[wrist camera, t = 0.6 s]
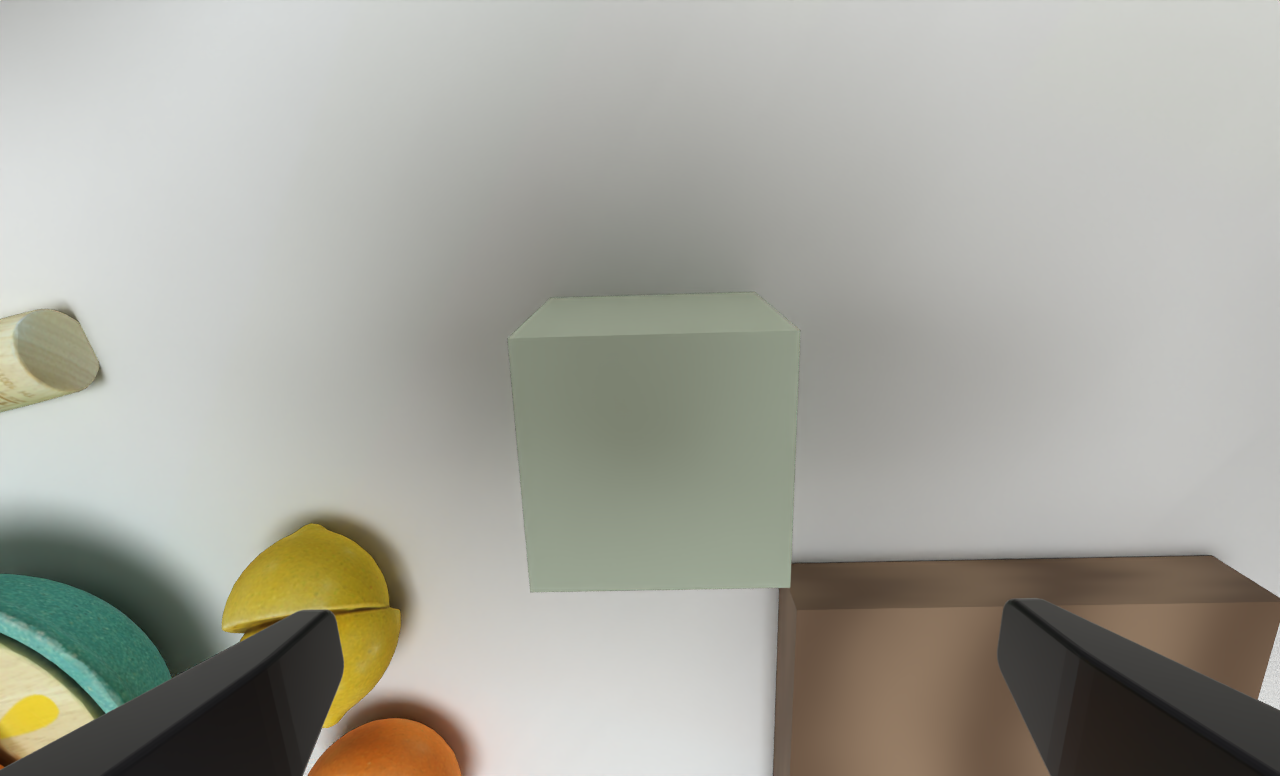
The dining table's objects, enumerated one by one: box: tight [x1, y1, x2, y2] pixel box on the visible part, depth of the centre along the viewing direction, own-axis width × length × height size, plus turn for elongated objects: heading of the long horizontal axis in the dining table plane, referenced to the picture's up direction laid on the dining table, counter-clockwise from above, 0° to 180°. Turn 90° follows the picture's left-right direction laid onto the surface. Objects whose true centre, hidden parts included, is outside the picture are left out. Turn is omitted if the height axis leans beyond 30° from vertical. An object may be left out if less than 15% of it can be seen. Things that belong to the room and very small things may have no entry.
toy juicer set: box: [0, 309, 461, 776], centre depth 19 cm, size 29×18×8 cm, turn 35°
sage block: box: [507, 292, 800, 592], centre depth 17 cm, size 6×6×6 cm
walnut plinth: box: [773, 556, 1280, 776], centre depth 22 cm, size 14×14×2 cm
